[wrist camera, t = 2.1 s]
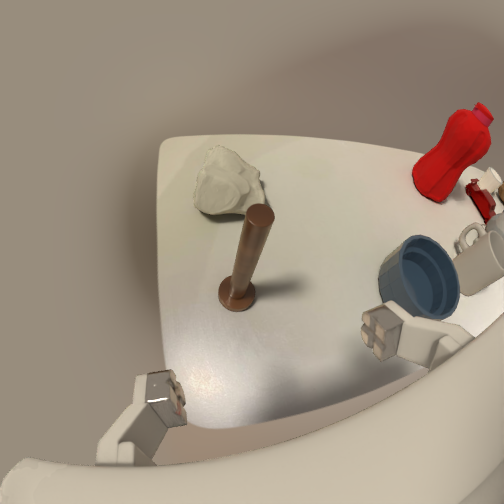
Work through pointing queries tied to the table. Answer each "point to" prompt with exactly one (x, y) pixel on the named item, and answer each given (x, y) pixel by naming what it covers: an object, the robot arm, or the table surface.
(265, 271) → the table surface
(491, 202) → the toy car
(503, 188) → the bowl
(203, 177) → the decorative stone
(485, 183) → the white tapered cup
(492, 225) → the figurine
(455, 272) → the stir bowl
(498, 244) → the mug
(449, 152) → the water bottle
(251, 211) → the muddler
